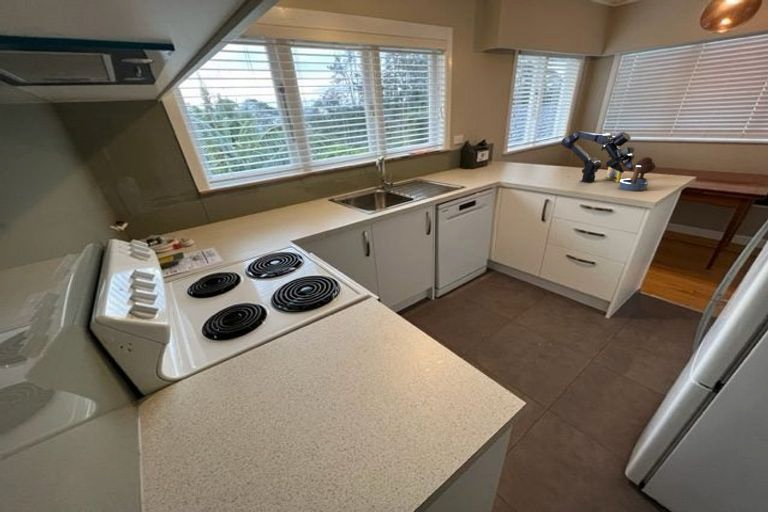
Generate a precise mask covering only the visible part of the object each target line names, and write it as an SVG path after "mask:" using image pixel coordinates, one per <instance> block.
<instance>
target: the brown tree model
mask: <svg viewBox="0 0 768 512" xmlns="http://www.w3.org/2000/svg"><path fill="white" fill-rule="evenodd" d="M636 166H641V169H640V172H639V175H640V176H638V179H640V180H645V181H647V178H645V177H644V176H645V174H648V173H650V172H652V171H654V170H655V169H656V166H657V165H656V164H655V163H654V162H653V158H652V157H650V156H646V157H642V158H641V159H639V160H638V161H637V162H636V163H635V164H633V170H635V167H636Z"/></svg>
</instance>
